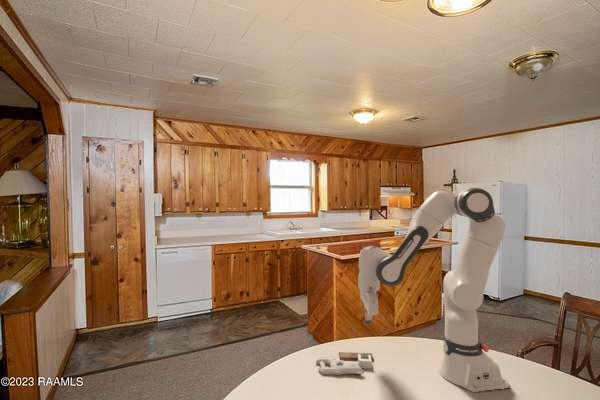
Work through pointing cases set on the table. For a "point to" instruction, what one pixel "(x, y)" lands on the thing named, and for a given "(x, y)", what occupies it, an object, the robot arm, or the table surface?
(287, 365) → the table surface
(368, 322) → the tan rounded rod
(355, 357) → the bar
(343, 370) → the gun
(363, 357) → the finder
